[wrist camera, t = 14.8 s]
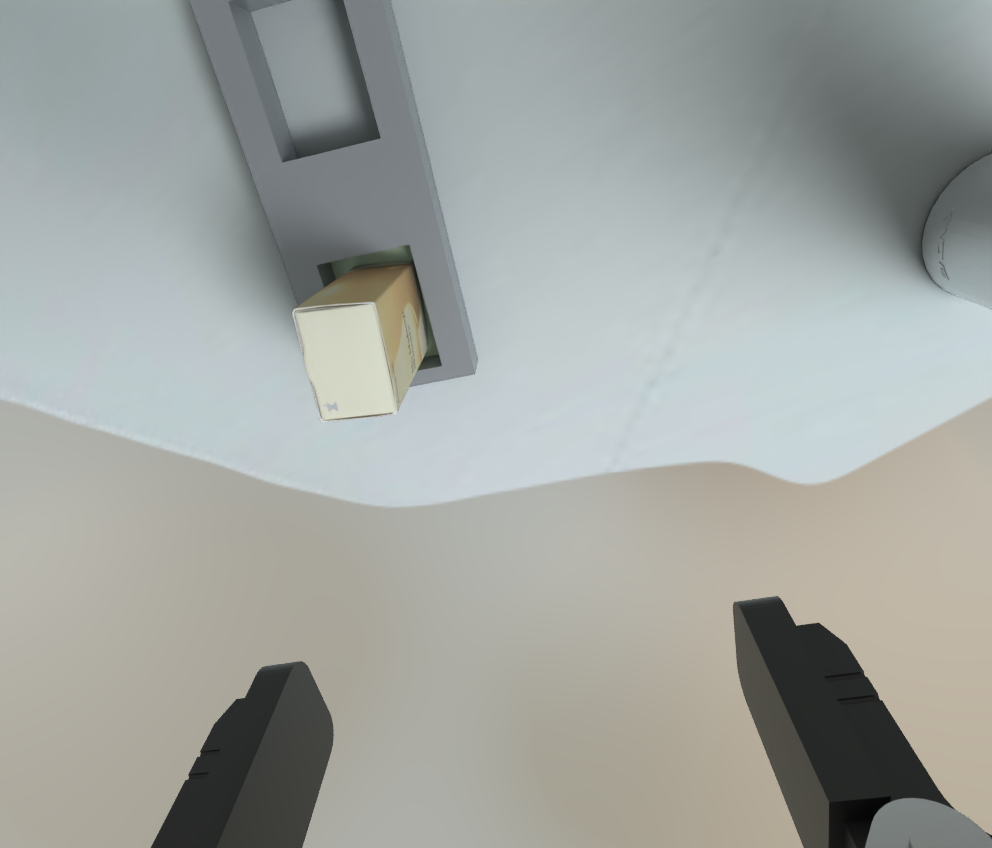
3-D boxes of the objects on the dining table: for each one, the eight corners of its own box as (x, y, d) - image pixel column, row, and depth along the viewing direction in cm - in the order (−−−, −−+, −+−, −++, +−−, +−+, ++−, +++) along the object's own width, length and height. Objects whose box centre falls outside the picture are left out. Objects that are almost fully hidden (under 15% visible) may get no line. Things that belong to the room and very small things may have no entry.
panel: (378, -48, 34) (366, -63, 31) (477, 358, 44) (475, 374, 41) (210, 0, 35) (185, -11, 33) (344, 385, 45) (332, 401, 42)
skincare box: (431, 346, 43) (401, 421, 32) (370, 353, 44) (320, 429, 33) (415, 253, 41) (376, 300, 30) (350, 261, 41) (288, 310, 30)
